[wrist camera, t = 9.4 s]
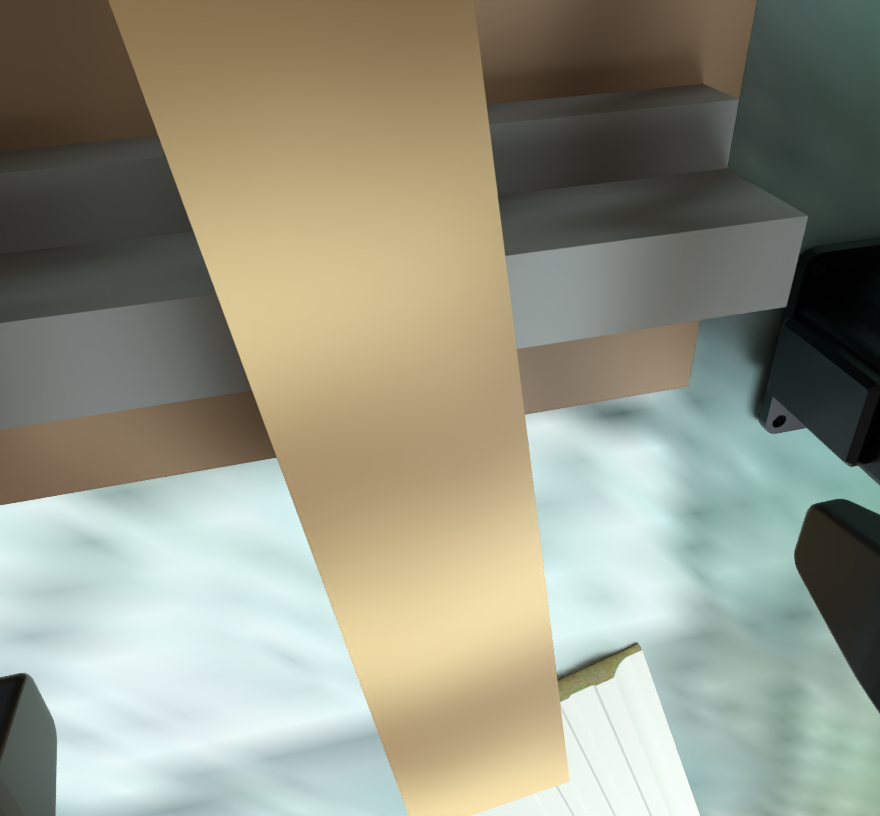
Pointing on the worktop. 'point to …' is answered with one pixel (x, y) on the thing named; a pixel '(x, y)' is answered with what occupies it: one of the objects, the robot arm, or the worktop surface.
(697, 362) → the worktop surface
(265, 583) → the worktop surface
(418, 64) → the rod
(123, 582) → the worktop surface
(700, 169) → the ridge stand
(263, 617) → the worktop surface
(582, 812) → the baseboard molding
